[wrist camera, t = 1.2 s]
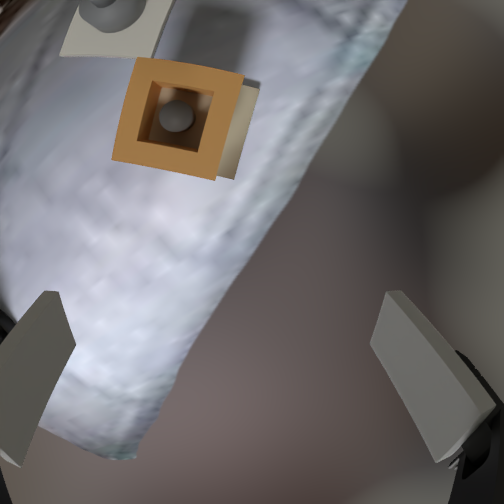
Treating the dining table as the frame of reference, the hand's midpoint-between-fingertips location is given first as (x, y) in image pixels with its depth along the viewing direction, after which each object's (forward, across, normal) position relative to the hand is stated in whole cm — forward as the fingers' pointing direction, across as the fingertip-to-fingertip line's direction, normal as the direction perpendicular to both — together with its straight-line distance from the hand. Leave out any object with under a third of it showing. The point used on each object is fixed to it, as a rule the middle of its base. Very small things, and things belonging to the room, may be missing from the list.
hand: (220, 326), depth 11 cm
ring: (+16, -4, +8) cm, 18 cm away
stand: (+23, -4, +8) cm, 24 cm away
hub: (+23, -12, +22) cm, 34 cm away
